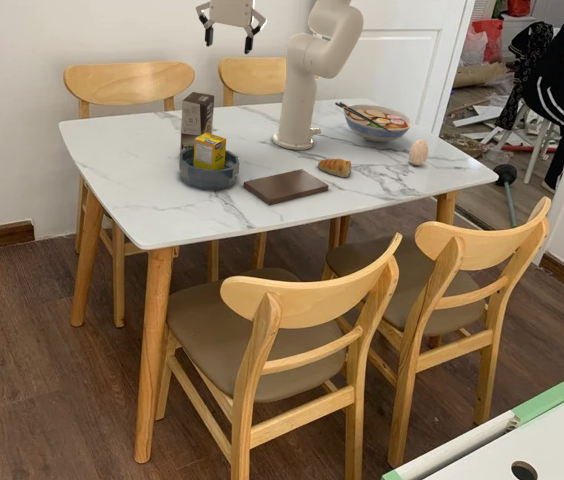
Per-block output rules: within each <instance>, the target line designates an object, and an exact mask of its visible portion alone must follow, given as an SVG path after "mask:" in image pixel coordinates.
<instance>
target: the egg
mask: <svg viewBox="0 0 564 480" xmlns="http://www.w3.org/2000/svg"><path fill="white" fill-rule="evenodd" d="M428 154H429V145H428V143H427V142H426V140H424V139H418V140H416V141H415V142H413V144H412V145H411V147H410V149H409V152H408V158H409V161H410V163H411V164H412V165H414V166H420V165H422V164H423V163H424V162H425V161H426V160H427V158H428V156H429V155H428Z"/></svg>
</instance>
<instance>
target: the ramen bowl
mask: <svg viewBox="0 0 564 480" xmlns="http://www.w3.org/2000/svg"><path fill="white" fill-rule="evenodd" d="M334 105H335V106H337V107H339V108H341V109H343V110H342V111H343V115H344V118H345V121H346V123H347V126H348V127H349V129H350V130H352V132H354V133H355V134H356V135H357V136H360V137H361V138H363V139H364V140H365V141H368V142H373V143H382V142H390V141H394V140H396V139H399V138H401V137H402V136H403V135H405V134H406V133H407V132H408V131H409V129H411V127H412V125H414V122H413V120H412V118H411V117H410V116H408V115H407V114H405V113H403V112H401V111H399V110H395V109H393V108H389V107H385V106H382V105H376V104H375V105H374V104H366V103H365V104H364V103H363V104H359V103H357V104H356V103H355V104H351V105H347V104H345V103H344V102H342V101H339V102H335V103H334Z"/></svg>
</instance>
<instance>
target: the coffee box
mask: <svg viewBox="0 0 564 480" xmlns="http://www.w3.org/2000/svg"><path fill="white" fill-rule="evenodd" d="M215 97H216V96H215V95H213V94H208V93H203V92H202V93H201V92H196V91H192V92H191V93H190V94H189V95H187V96H186V97H185V98H183V99H182V104H181V122H180V123H181V124H180V125H181V127H180V147H179V153H181V152H182V151H184V150H185V149H187V148H192V147H194V144H195V138H197V137H199V136H201V135H203V134H205V133H210V134H213V125H214V124H213V123H214V108H215ZM191 159H192V158H191Z"/></svg>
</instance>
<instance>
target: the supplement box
mask: <svg viewBox="0 0 564 480" xmlns="http://www.w3.org/2000/svg"><path fill="white" fill-rule="evenodd" d="M226 150H227V138H226V137H223V136H219V135H217V134H214V133H212V134H210V133H205V134H203V135H201V136H199V137H197V138H195V144H194V167H198V168H201V169H207V170H222V169H224V164H225V151H226Z"/></svg>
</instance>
